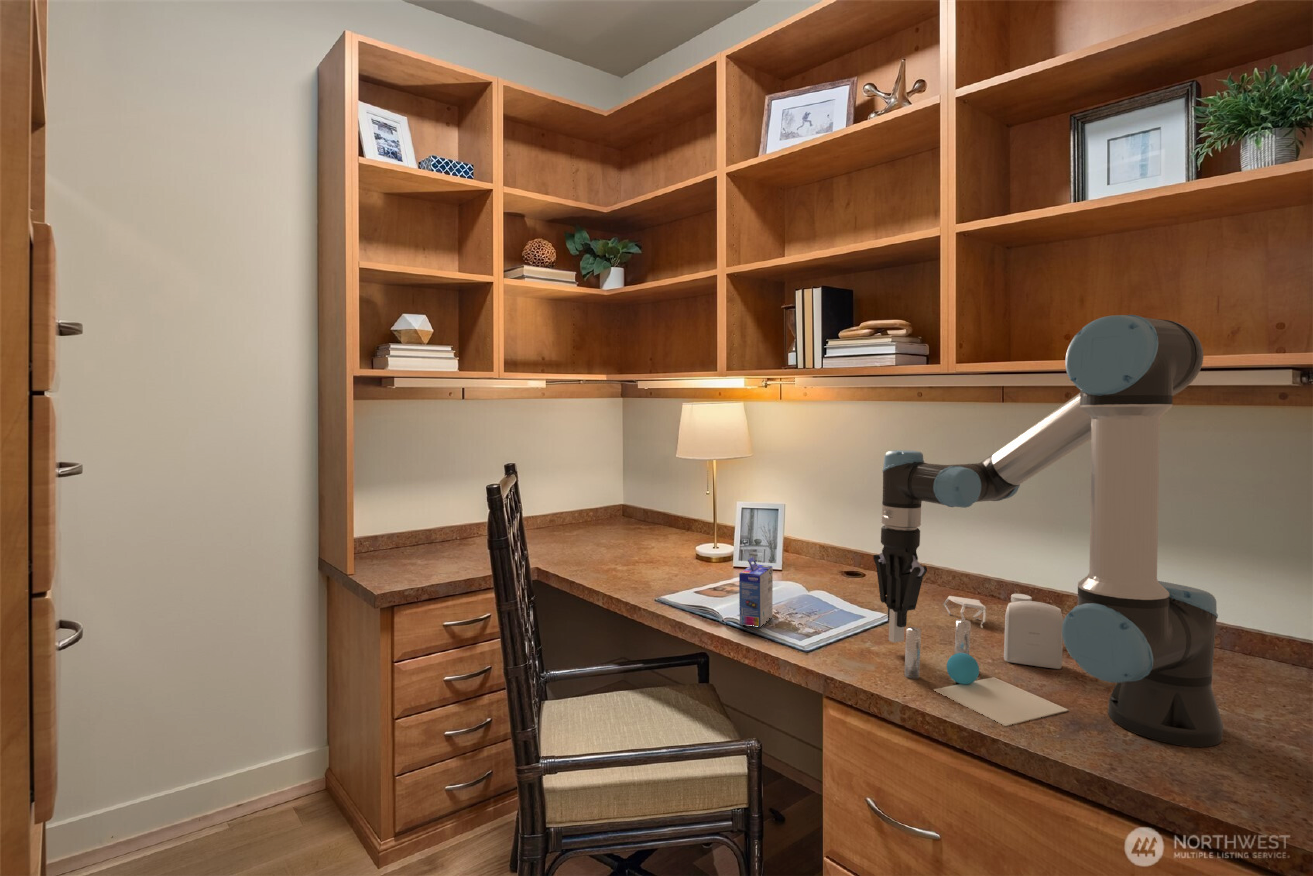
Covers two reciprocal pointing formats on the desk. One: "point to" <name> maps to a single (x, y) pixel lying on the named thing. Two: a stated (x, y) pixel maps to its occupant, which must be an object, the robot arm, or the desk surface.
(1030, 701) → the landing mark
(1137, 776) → the desk surface
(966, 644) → the gate post right
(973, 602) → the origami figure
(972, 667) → the ball
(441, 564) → the desk surface
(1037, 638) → the photo printer
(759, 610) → the ink cartridge box
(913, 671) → the gate post left
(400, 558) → the desk surface
